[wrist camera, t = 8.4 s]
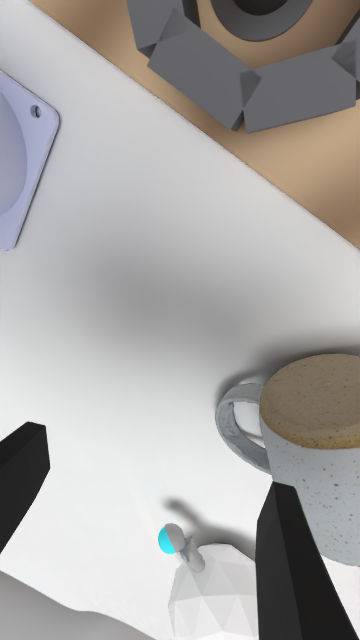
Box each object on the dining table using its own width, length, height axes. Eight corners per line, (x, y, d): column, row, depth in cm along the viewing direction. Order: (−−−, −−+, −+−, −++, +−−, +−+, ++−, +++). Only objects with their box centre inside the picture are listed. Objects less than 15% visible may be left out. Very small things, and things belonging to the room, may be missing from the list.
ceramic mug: (385, 332, 18) (455, 444, 11) (398, 441, 21) (459, 577, 14) (201, 364, 21) (175, 463, 15) (236, 454, 24) (226, 568, 18)
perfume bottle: (197, 633, 30) (113, 540, 28) (264, 565, 32) (187, 472, 30) (230, 740, 23) (116, 621, 21) (316, 644, 24) (217, 525, 22)
